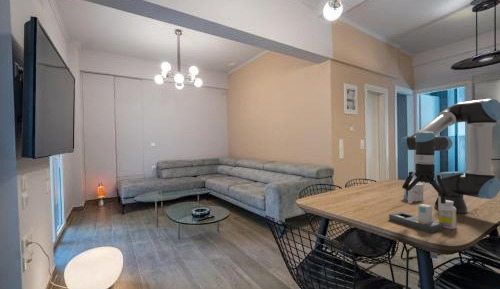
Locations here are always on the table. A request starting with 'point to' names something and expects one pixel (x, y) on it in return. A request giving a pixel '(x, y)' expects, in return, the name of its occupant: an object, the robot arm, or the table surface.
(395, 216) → the panel
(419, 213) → the plug
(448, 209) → the supplement bottle
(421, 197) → the ink box
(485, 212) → the table surface
